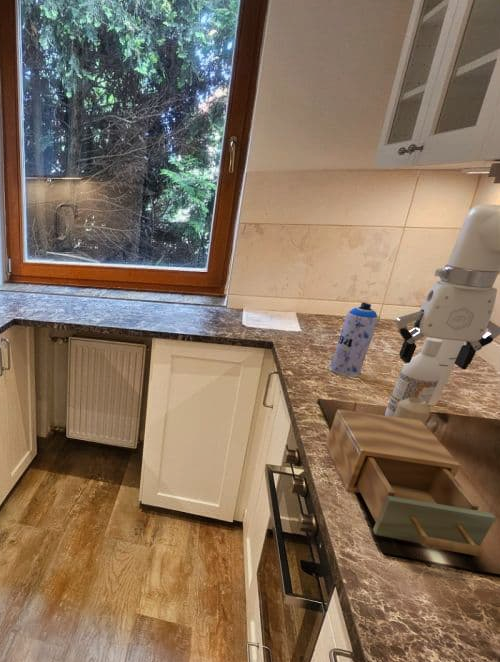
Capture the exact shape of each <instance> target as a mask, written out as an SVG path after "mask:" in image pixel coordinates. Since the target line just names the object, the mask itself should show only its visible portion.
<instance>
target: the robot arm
mask: <svg viewBox="0 0 500 662" xmlns="http://www.w3.org/2000/svg"><path fill="white" fill-rule="evenodd" d="M447 260H448V261H447V263H446V264H444V267H443V268H437V269H436V270H435V271H434V276H435V277H439V279H440V280H437V281H436V282H434V284H433V285H432V287H431V289H430V290H429V291H428V293H427V295H426V297H425V298H424V300H423V302H422V304H421V306H420V308H419V310H418V311H416V312H411V313H410V314H405V315H402V316H399V317H397V318H396V319H395V322H396V327H397V332H398V333H399V335H400V336H401V337H402V339H403V343H402V345H401V348H400V351H399V352H398V355H399V358H400V360H401V361H403V362H404V363H405V364H406V363H410V361H411V359H412V358H413V357H414V354H415V351H416V349H417V344H416V343H417V342H418V341H420V340H422V338H424V337H426V338H427V337H429V338H437V339H447V340H457V341H465V342H464V343H465V344H463V346H462V347H461V349H460V352H459V354H458V356H457V358H456V361H455V366H457V367H458V368H459V369H461V370H467V368H468V367H469V365H470V364H471V363H472V361H473V359H474V357H475V355H476V353H477V352H478V351H480V350H482V349H483V347H485V346H487V345H489V344H491V343H492V342H493V341H494V339H496V338H497V337H499V336H500V326H499V325H498V324H496V323H494V322H492V320H491V317H492V314H493V311H494V308H495V303H496V298H497V292H498V289H497V288H496V287H494V285H495V282H496V279H497V277H498V275H499V273H500V204H498V205H497V204H478V205H474V206H473V207H471V208H470V209H469V210H468V212H467V213H466V216H465V218H464V221H463V223H462V225H461V228H460V230H459V232H458V235H457V238H456V240H455V243H454V245H453V247H452V251H451V253H450V256H449V258H448V259H447ZM410 323H413V328H412V329H410V330H408V324H410Z"/></svg>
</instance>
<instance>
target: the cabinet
mask: <svg viewBox="0 0 500 662" xmlns="http://www.w3.org/2000/svg"><path fill="white" fill-rule="evenodd" d="M335 412H336V413H335V415H334V418H333V421H332V424H331V428H330V430H329V433H328V436H327V439H326V443H325V448H326V450H327V452H328V455H329V457H330V459H331V461H332V463H333V465H334V468H335V469H336V472H337V474H338V476H339V478H340V479H341V482H342V485H343V486H344V489H345V491H346V492H350V493H357V494H361V493H360V491H359V489H358V487H357V485H356V483H355V482H356V480H357V477H358V474H359V472H360V469H361V467H362V464H363V461H364V459H365V456H366V455H367V456H373V457H380V458H387V459H393V460H400V461H406V462H413V463H420V464H426V465H433V466H440V467H446V468H447V469H448V470H449V472H450V473H451V474H452V475H453V476H454V478H456V475H457V473H458V471H459V469H460V467H461V464H460V463H459V461H457V459H455V457H454V456H453V455H452V454H451V453H450V452H449V450H448V449H447V448H446V447H445V446H444V445H443V443H441V442H440V441H439V439H438V438H437V437H436V436H435V435H434V434H433V432H432V431H431V430H430V429H429V428H428V427H427V425H424V424H423V423H422V421H421V420H414V419H407V418H399V417H392V416H385V414H377V413H376V414H375V413H367V412H361V411H354V410H345V409H337V410H336V411H335Z"/></svg>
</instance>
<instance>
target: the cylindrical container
mask: <svg viewBox="0 0 500 662" xmlns="http://www.w3.org/2000/svg"><path fill="white" fill-rule="evenodd" d="M441 340H442V344H441V347H440V349H439V351H438V354H437V356H436V357H437V360H438V363H439V366H440V378H439V381H438V383H437V385H436V388H435V390H434V392H433V394H432V397H431V399H430V401H429V404H428V405H434V406H437V405H438V403H439V401H440V398H441V396H442V394H443V392H444V389H445V388H446V385H447V382H448V380H449V378H450V376H451V373H452V372H453V369H454V367H455V366H456V364H455V361H456V358H457V356H458V354H459V352H460V349H461V347H462V346H463V345H465V343H466V342H465V341H457V340H447V339H441ZM436 404H437V405H436Z"/></svg>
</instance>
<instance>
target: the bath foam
mask: <svg viewBox="0 0 500 662" xmlns="http://www.w3.org/2000/svg"><path fill="white" fill-rule="evenodd" d="M441 344H442V340H441V339H437V338H429V337H426V338H425V340H424V342H423V345H422V347H421V350H420V351H419V353H418V354H417V355H415V356H412V359H411V361H410V363H405V364H404V366H402V369H401V370H400V373H399V375H398V378H397V381H396V382H395V386H394V388H393V390H392V394H391V395H390V399H389V401H388V404H387V407H386V409H385V411H384V416H392V417H393V416H394V413H395V411H396V408H397V406H398V403H399V402H400V401H402V400H404V399H408V398H411V397H416V398H418V399H419V400H421V401H426V403H427V405H428V404H429V401H430V399H431V397H432V394H433V392H434V390H435V388H436V385H437V383H438V381H439V378H440V366H439V363H438V360H437V357H436V356H437V354H438V351H439V349H440V347H441Z"/></svg>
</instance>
